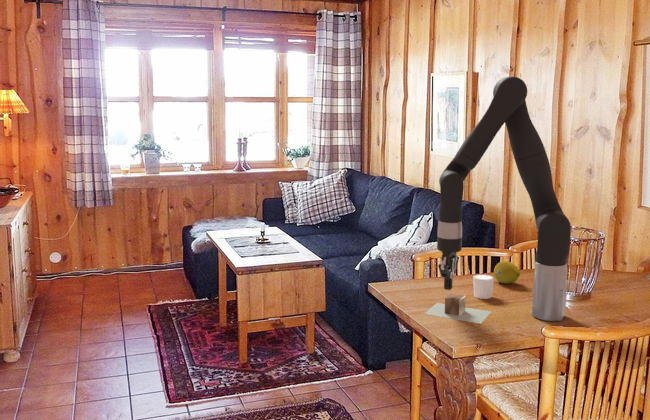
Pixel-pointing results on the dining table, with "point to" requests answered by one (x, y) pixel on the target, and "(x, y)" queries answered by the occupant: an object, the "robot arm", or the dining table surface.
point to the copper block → (455, 304)
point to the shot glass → (483, 286)
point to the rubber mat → (468, 315)
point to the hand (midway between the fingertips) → (448, 288)
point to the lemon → (506, 272)
